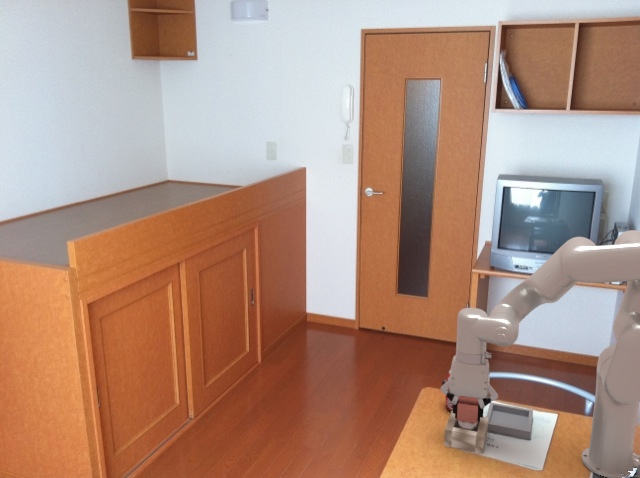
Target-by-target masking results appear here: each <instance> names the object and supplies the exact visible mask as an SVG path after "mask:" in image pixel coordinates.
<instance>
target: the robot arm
mask: <svg viewBox="0 0 640 478" xmlns="http://www.w3.org/2000/svg"><path fill="white" fill-rule="evenodd" d="M621 282H627V283H626V287H625V291H624V295H623V298H622V301H621V304H620V306H619V308H618V311H617V314H616V316H615V319H614V322H613V325H612V326H613V328H612V329H613V333H614V337H615V341H616V344H613V345H612V344H611V345H609V346H607V347H605V348H604V349H603V350H602V351H601V353H600V354H599V356H598V360H597V363H596V382H595V384H596V385H595V397H594V403H593V404H594V405H593V412H592V421H591V430H590V440H589V446H588V447H587V448H585V449H584V450H583V451H582V452H581V461H582V463H583V465H584V466H585V468H587V469H588V470H589V471H590V472H592V473H594V474H596V475H597V476H600V475H601V476H600V477H602V476H604V477H603V478H605V477H609V478H622V477H628V476H629V475H630V474H631V473H630V472H628V471H633V468H637V469H638V468H640V454H636V452H634V443H635V442H634V441H635V433H636V427H637V426H636V425H637V419H638V413H639V404H640V230H635V229H634V230H633V229H630V230H626V231H624V232H622V233H621V234H620V235H618V236H617V238H616V239H615V241H614V244H609V245H608V244H607V245H605V244H603V245H596V243H594V242H593V240H591V239H589V238H587V237H584V236H575V237H572V238H570V239H568V240H566V242H564V243H562V245H561V246H560V247H559V248H558V249H557V250H556V251H555V252H553V254H552V255H550V257H549V258H547V260H546V261H545V262H543V264H542V265H540V267H538V268H537V269H536V270H535V271H534V272H533V273H532V274H531V275H530V276H528V277H527V278H526V279H525V280H523V281H522V282H520V283H519V284H518V285H516V286H515V287H513V288H512V289H511V290H510V291H509V292H508V293H506V295H505V296H504V297H502V299H500V301H498V303H497V304H495V306H494V307H493V308H492V309H491V312H489V315H488V313H487V312H486V311H484V310H483V309H481V308H477V307H476V308H475V307H465V308H462V309H460V310H459V311H458V314H457V322H456V325H457V326H456V345H455V346H456V348H455V355H454V356H453V358H452V361H451V365H450V369H451V373H450V379H449V380H448V381H447V382H445V383H444V384H442V385H441V387H440V392H441V393H442V394H444V396H445V397H446V396H447V397H448V399H449V400H450V401H451V402H452V404H453V413H454V414H455V418H457V409H458V398H459V396H465V397H473V398H478V401H479V405H478V420H477V421H478V422H480V417H482V418H483V417H484V409H485V408H486V406H489V405H490V403H491V402H492V403H493V401H495V400H497V399H499V394H498V393H497V391H496V390H495V389H494V388H493V386H492V385H491V383H490V379H491V378H490V376H491V375H490V372H491V371H490V363H489V359H492V354H493V353H492V352H488V351H487V343H488V344H492V345H495V346H498V347H510V346H512V345H513V344H515V343H516V341H517V340H518V337H519V333H520V332H519V331H520V329H519V327H520V323H521V322H522V321H523V320H524V319H525V318H526V317H527V316H528V315H529V314H531V313H532V312H533V311H534V310H535V309H536V308H538V307H539V306H542V305H546V304H554V303H556V302H558V301H559V300H560V299H562V297H564V296H565V295H566V294H567V293H568V292H569V291H570V290H571V289H572V288H573V287H574V286H575V285H576V284H577V283H583V284H584V283H585V284H596V283H597V284H599V283H602V284H603V283H621ZM448 388H449V390H450V391H449V390H448ZM621 474H624V475H621Z"/></svg>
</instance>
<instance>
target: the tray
mask: <svg viewBox="0 0 640 478" xmlns="http://www.w3.org/2000/svg"><path fill="white" fill-rule="evenodd" d="M533 416H534V409H529V408H523V407H518V406H513V405H508V404H503V403H496V402H493V401H492V402H491V403H489V404H488V409H487V413H486V416H485V417H488V433H492V434H497V435H501V436H506V437H507V436H508V437H513V438H518V439H522V440H526V441H527V440H528V441H531V434H532V428H533V427H532V426H533Z"/></svg>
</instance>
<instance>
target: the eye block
mask: <svg viewBox="0 0 640 478" xmlns="http://www.w3.org/2000/svg"><path fill="white" fill-rule="evenodd" d="M488 433H489V432H488V417H486V416H483V418H482V417H480V422H478V421H477V427H476V431H471V430H466V429H461V428H458V420H457V418H455V414H454V413H453V411H450V415H449V417H448V420H447V422H446V425H445V428H444V438H443V440H444V442H443V443H444V444H443V447H447V448H452V449H456V450H457V449H458V450H462V451H466V452H471V453H476V454H480V455H483V454H484V450H485V446H486V441H487V438H488Z"/></svg>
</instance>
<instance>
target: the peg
mask: <svg viewBox="0 0 640 478" xmlns="http://www.w3.org/2000/svg"><path fill="white" fill-rule="evenodd" d="M478 405H479V401H478V398H473V397H465V396H459V399H458V409H457V420H458V428H461V429H466V430H471V431H476V427H477V420H478Z"/></svg>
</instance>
